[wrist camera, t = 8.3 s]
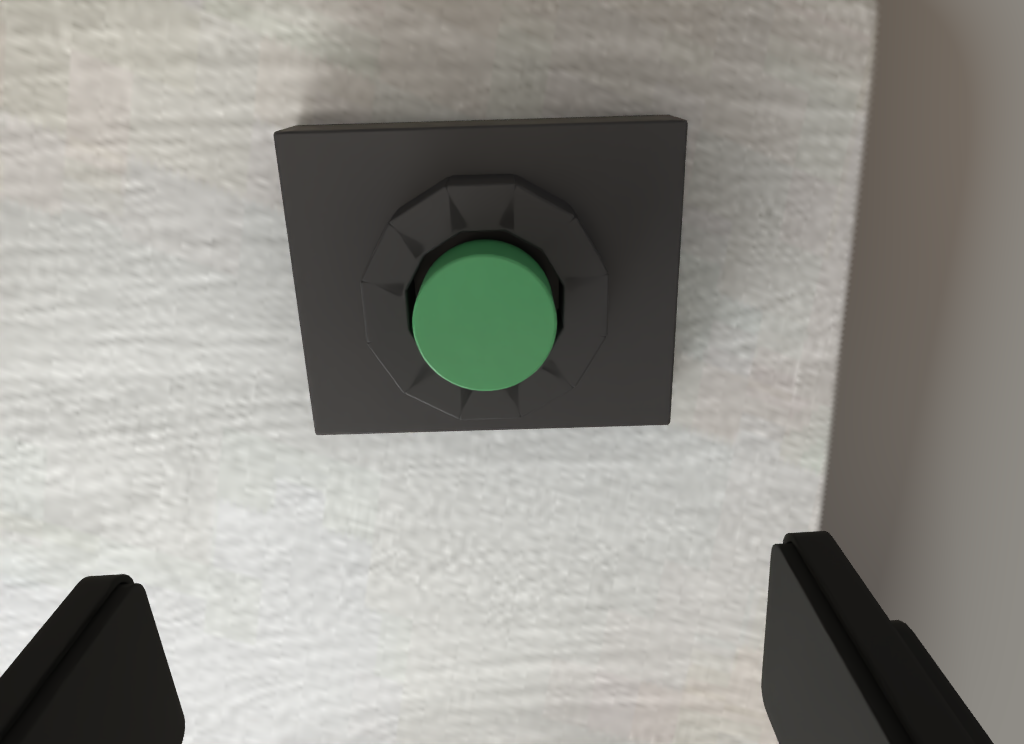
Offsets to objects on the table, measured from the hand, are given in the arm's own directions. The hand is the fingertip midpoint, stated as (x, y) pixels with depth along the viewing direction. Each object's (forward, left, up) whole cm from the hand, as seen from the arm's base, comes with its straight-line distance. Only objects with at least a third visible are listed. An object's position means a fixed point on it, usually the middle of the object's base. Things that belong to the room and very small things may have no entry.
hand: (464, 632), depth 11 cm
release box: (+1, -1, -14) cm, 14 cm away
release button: (+1, -1, -11) cm, 11 cm away
